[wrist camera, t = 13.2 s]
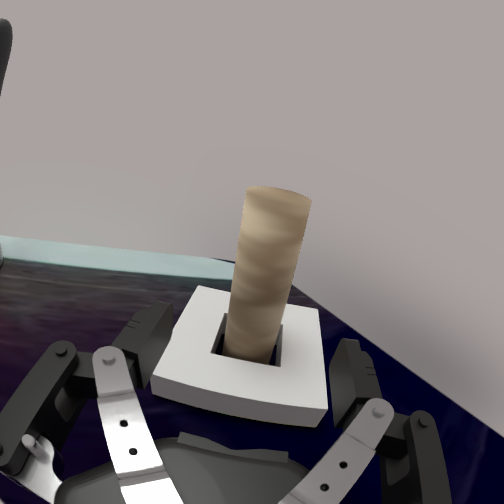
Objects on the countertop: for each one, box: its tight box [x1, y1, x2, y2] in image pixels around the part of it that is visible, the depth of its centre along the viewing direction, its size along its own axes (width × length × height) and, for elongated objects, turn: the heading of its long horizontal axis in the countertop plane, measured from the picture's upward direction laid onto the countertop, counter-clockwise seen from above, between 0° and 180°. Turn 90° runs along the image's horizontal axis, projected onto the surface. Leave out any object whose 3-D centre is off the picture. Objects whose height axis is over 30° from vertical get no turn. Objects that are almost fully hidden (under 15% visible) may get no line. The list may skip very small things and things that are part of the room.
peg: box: [222, 186, 311, 365], centre depth 20 cm, size 4×4×14 cm
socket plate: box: [150, 286, 328, 427], centre depth 22 cm, size 12×12×2 cm
